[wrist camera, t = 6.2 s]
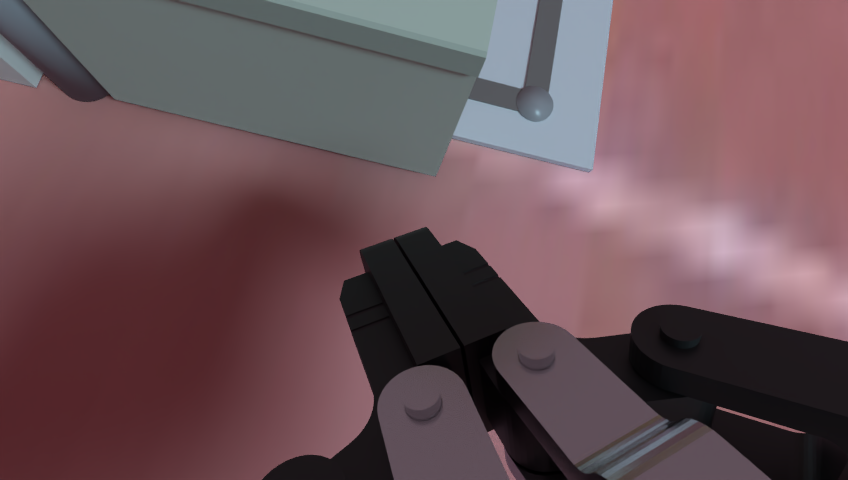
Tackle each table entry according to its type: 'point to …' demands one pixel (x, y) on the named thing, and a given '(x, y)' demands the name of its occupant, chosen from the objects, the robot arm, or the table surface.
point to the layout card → (541, 81)
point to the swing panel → (292, 66)
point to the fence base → (40, 55)
